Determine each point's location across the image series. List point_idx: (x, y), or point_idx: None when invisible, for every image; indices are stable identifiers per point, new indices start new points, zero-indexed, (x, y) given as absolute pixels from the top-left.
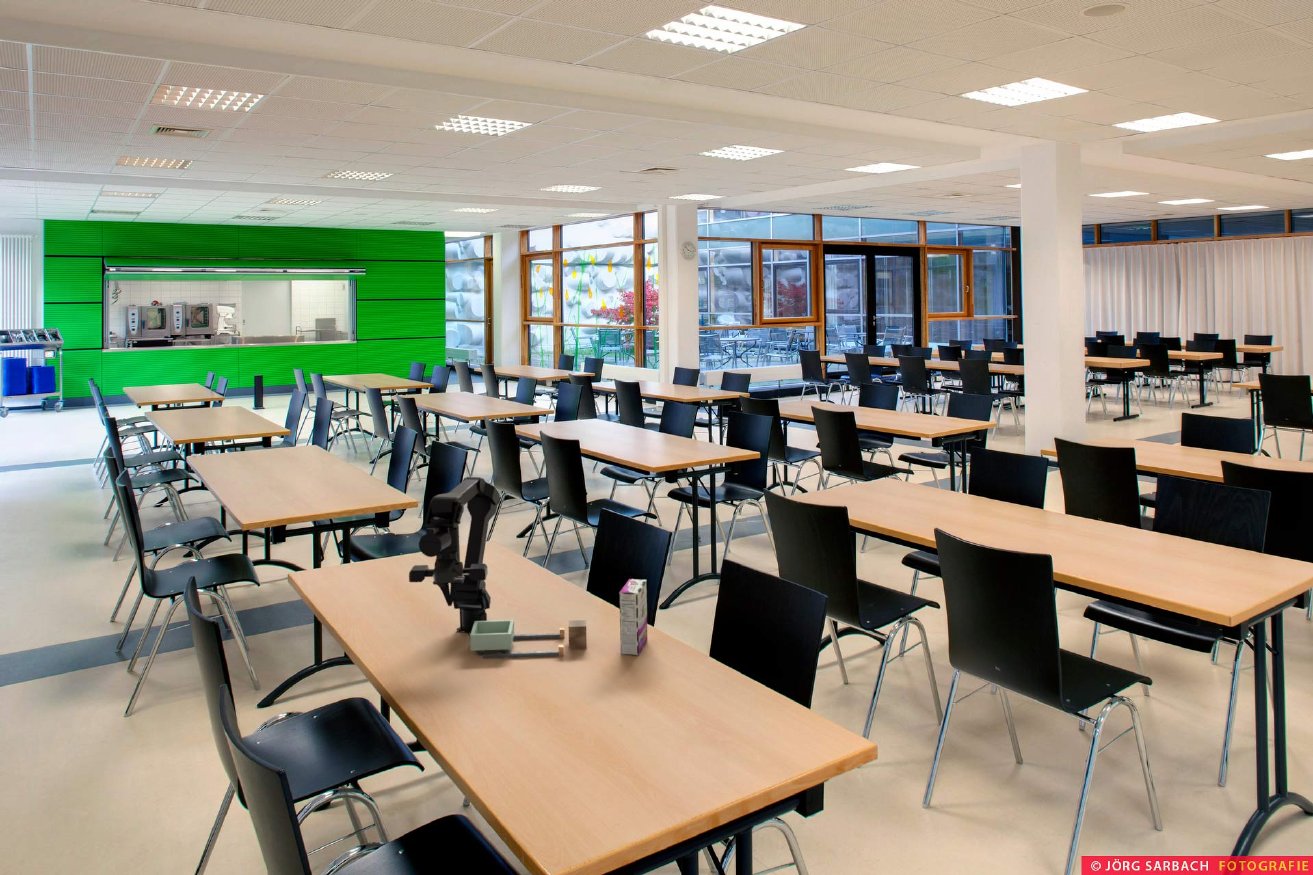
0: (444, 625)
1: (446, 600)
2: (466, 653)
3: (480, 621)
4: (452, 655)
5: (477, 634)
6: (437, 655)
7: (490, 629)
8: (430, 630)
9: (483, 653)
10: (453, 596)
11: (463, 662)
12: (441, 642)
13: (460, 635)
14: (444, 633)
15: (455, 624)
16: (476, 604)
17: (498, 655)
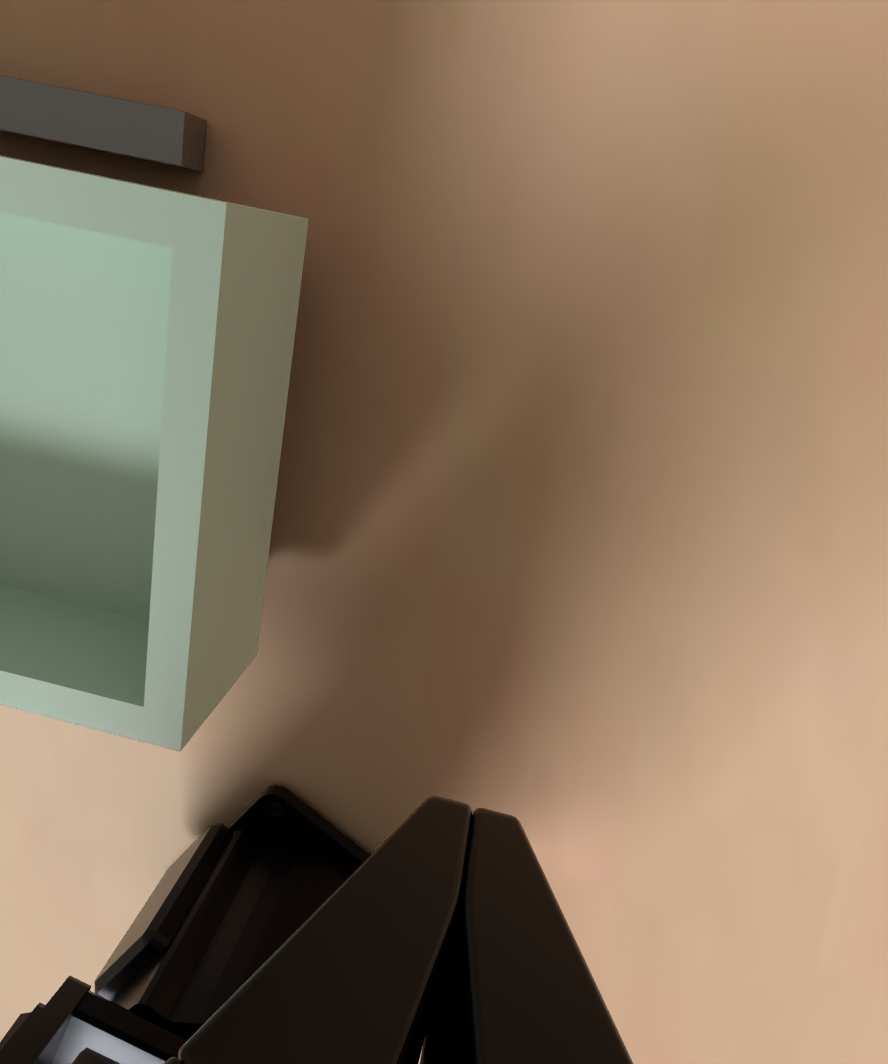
0: None
1: (559, 937)
2: (376, 338)
3: (110, 711)
4: (530, 324)
5: (117, 206)
6: (695, 375)
7: (55, 619)
8: (670, 1006)
9: (174, 155)
10: (260, 979)
11: (422, 54)
12: (606, 713)
13: None
14: None
15: None
16: (91, 1054)
17: (13, 78)
